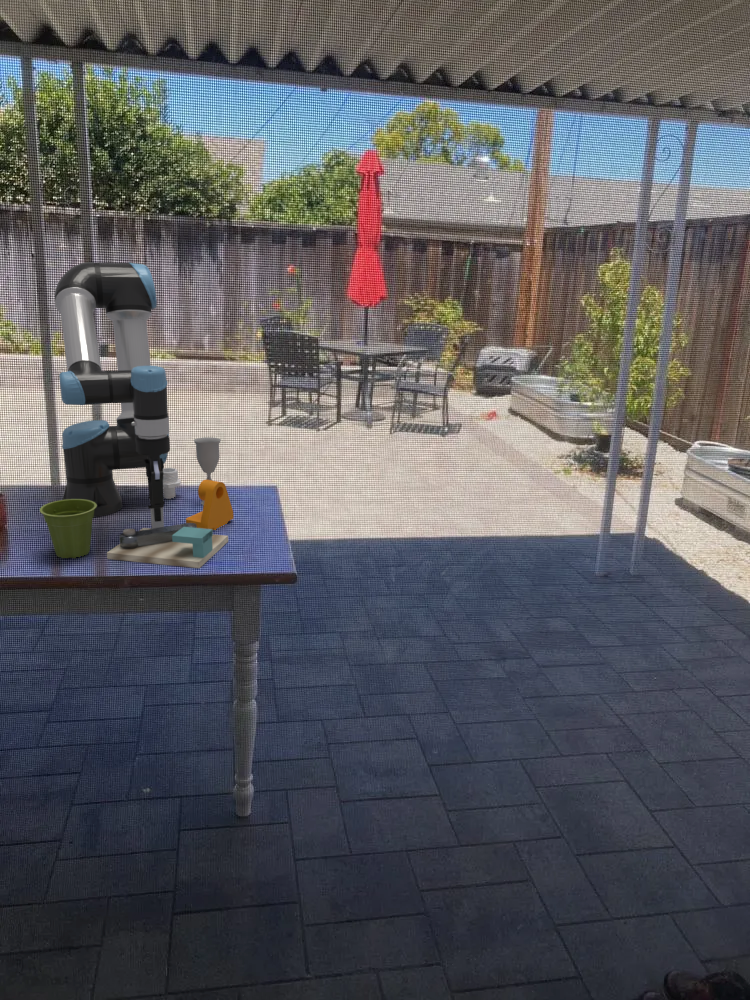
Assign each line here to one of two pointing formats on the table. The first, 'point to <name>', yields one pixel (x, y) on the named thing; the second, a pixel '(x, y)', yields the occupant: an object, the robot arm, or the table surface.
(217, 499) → the bracket
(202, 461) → the chalice
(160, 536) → the link
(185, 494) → the table surface
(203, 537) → the block
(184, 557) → the base board
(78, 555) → the plant pot
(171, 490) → the pipe fitting
